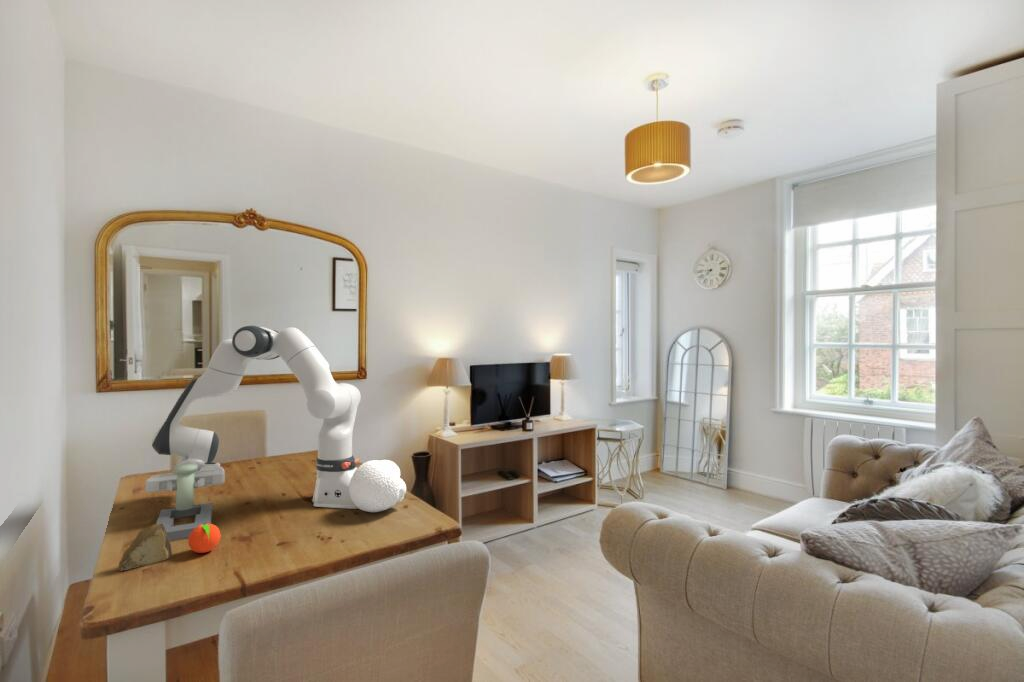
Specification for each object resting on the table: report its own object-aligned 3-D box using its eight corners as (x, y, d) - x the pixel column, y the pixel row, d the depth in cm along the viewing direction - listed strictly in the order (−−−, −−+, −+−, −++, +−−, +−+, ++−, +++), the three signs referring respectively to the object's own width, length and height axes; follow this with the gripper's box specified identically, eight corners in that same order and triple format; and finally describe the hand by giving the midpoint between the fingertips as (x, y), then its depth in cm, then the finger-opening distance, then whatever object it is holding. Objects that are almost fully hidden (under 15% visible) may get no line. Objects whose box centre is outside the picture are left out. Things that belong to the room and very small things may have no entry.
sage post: (201, 506, 144) (202, 464, 144) (182, 512, 138) (183, 469, 138) (187, 503, 146) (188, 462, 146) (168, 509, 140) (169, 467, 140)
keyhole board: (161, 517, 144) (161, 509, 144) (212, 510, 151) (212, 502, 151) (151, 544, 125) (151, 534, 125) (210, 534, 132) (210, 525, 132)
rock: (108, 568, 107) (159, 556, 110) (113, 532, 111) (162, 521, 115) (127, 578, 115) (174, 567, 118) (131, 544, 119) (176, 534, 123)
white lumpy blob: (331, 517, 145) (332, 464, 145) (360, 498, 163) (361, 451, 162) (393, 523, 142) (394, 469, 141) (415, 502, 159) (416, 455, 159)
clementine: (224, 553, 120) (225, 525, 120) (192, 562, 115) (192, 532, 115) (216, 543, 126) (217, 516, 126) (185, 551, 121) (185, 523, 121)
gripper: (148, 469, 148) (141, 480, 136) (225, 462, 158) (225, 471, 147) (147, 489, 148) (140, 502, 136) (224, 481, 158) (224, 492, 146)
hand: (185, 486), depth 141 cm, fingers closed on sage post, 4 cm apart
